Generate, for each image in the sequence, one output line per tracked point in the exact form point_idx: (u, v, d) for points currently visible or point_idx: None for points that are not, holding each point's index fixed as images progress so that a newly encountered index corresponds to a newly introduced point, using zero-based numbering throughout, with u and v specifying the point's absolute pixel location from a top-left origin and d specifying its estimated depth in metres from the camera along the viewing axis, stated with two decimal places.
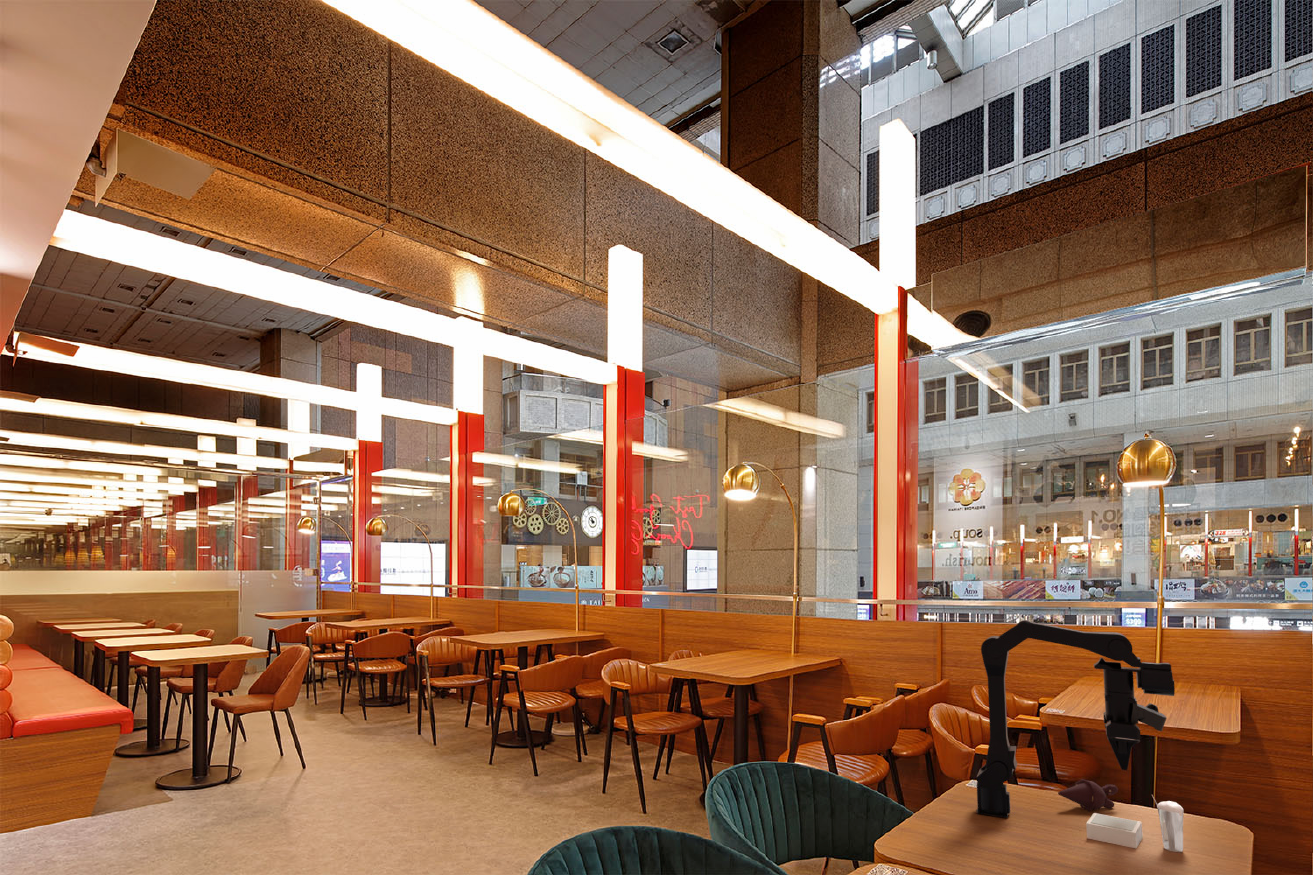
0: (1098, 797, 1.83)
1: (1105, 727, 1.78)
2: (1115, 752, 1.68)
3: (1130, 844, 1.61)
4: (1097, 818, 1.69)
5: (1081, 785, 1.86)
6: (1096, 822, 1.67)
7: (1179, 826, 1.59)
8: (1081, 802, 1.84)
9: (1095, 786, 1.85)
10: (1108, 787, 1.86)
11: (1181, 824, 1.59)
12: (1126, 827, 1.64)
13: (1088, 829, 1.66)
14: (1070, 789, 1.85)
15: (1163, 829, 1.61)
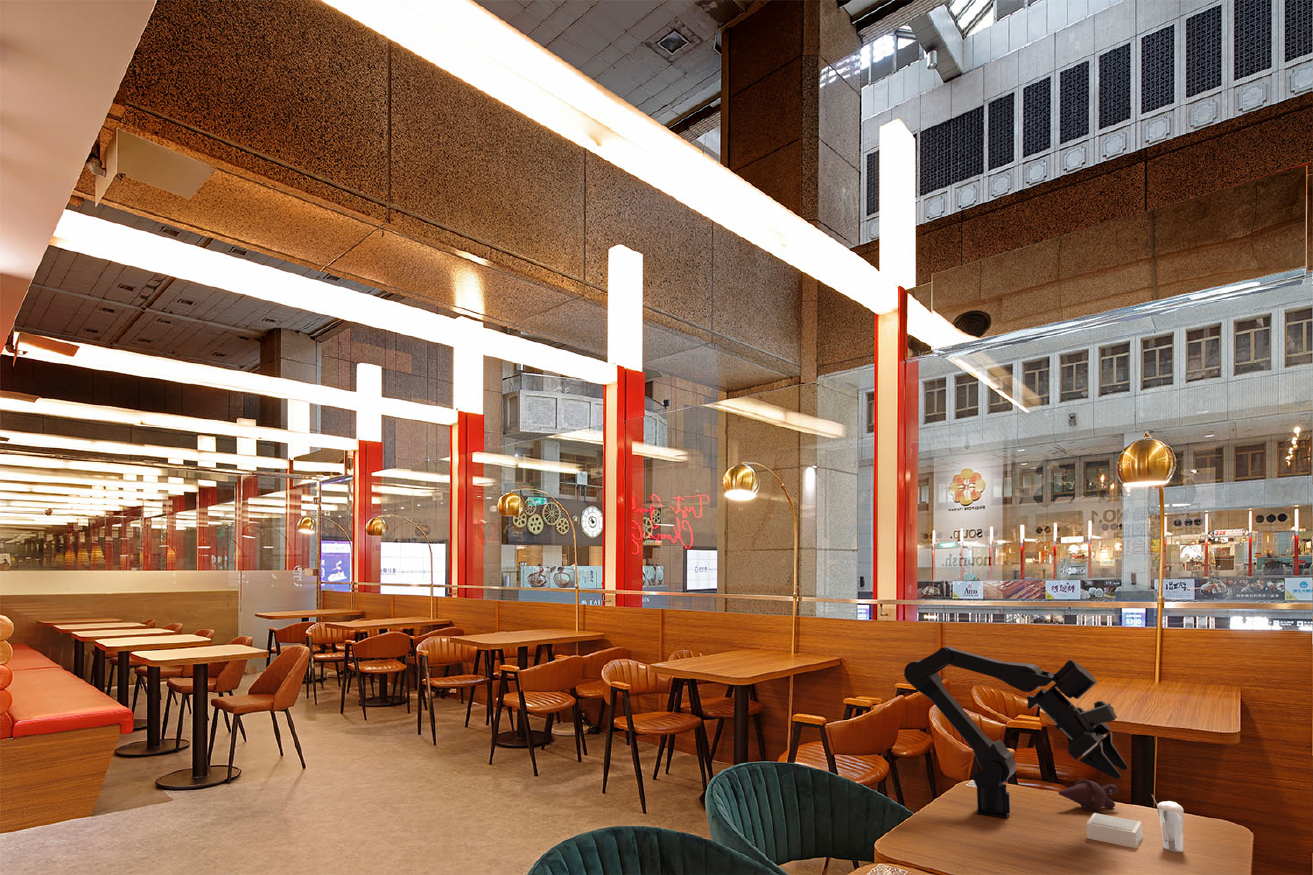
0: (1098, 796, 1.83)
1: None
2: (1098, 768, 1.65)
3: (1130, 844, 1.61)
4: (1097, 818, 1.69)
5: (1081, 785, 1.86)
6: (1096, 822, 1.67)
7: (1179, 826, 1.59)
8: (1081, 802, 1.84)
9: (1095, 786, 1.85)
10: (1109, 787, 1.86)
11: (1181, 824, 1.59)
12: (1126, 827, 1.64)
13: (1088, 829, 1.66)
14: (1070, 789, 1.85)
15: (1163, 829, 1.61)
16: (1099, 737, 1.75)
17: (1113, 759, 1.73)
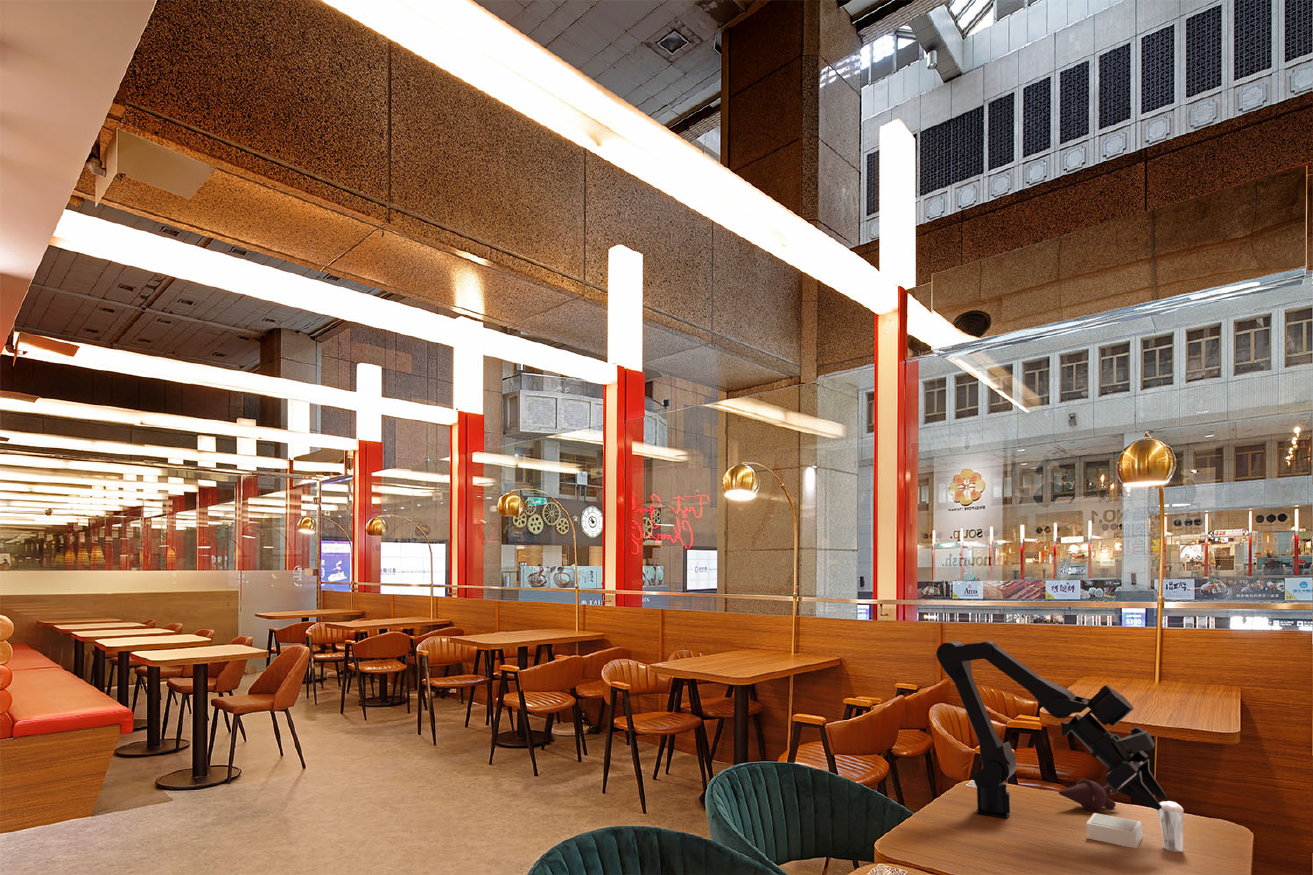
0: (1098, 796, 1.83)
1: None
2: (1137, 799, 1.60)
3: (1130, 844, 1.61)
4: (1097, 818, 1.69)
5: (1082, 785, 1.86)
6: (1096, 822, 1.67)
7: (1179, 826, 1.59)
8: (1082, 802, 1.84)
9: (1096, 786, 1.85)
10: (1109, 787, 1.86)
11: (1181, 824, 1.59)
12: (1126, 827, 1.64)
13: (1088, 829, 1.66)
14: (1071, 789, 1.85)
15: (1163, 829, 1.61)
16: (1136, 765, 1.71)
17: (1151, 787, 1.68)
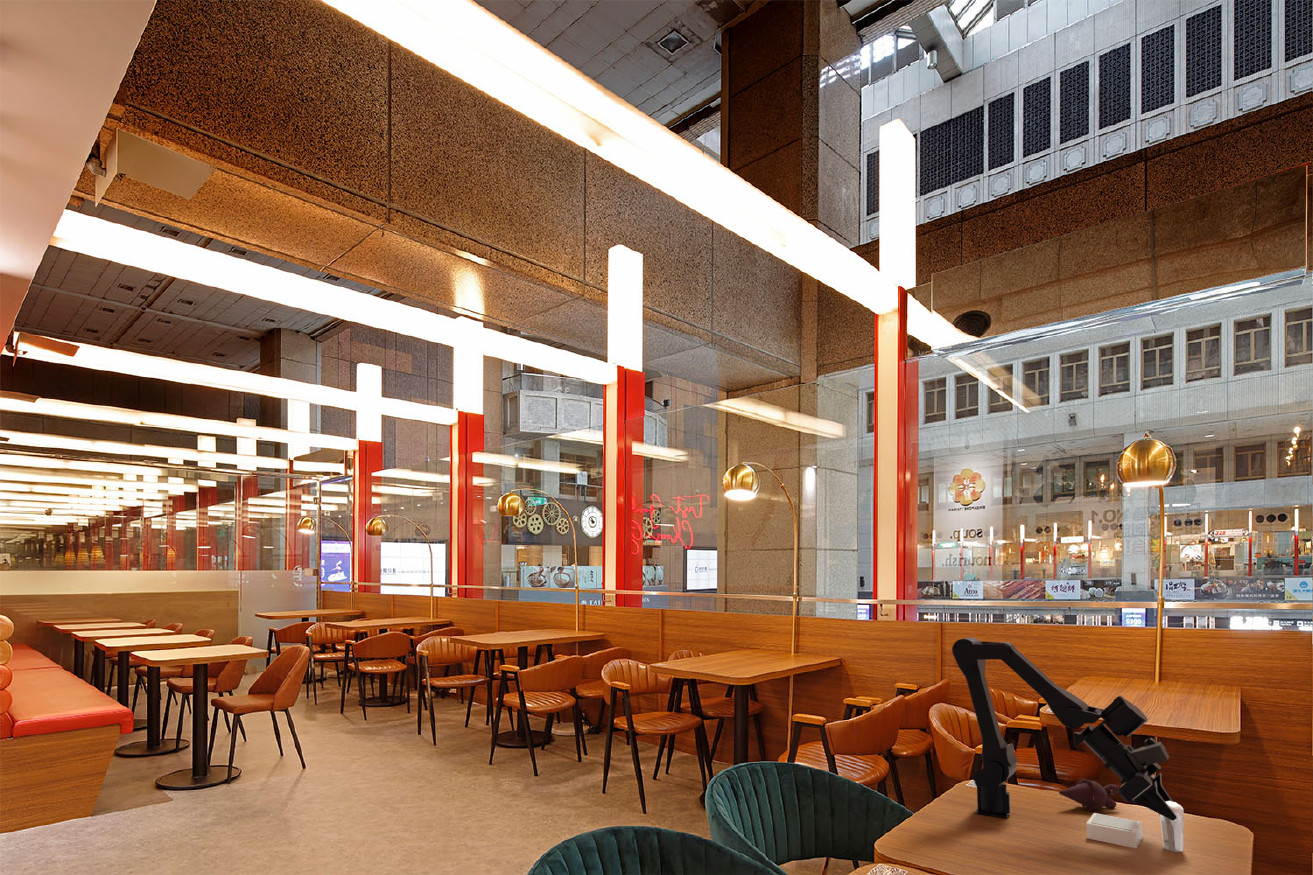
0: (1099, 796, 1.83)
1: None
2: (1153, 809, 1.60)
3: (1130, 844, 1.61)
4: (1097, 818, 1.69)
5: (1082, 785, 1.86)
6: (1096, 822, 1.67)
7: (1179, 826, 1.59)
8: (1082, 801, 1.84)
9: (1096, 786, 1.85)
10: (1110, 787, 1.86)
11: (1181, 824, 1.59)
12: (1126, 827, 1.64)
13: (1088, 829, 1.66)
14: (1071, 788, 1.86)
15: (1163, 829, 1.61)
16: None
17: None
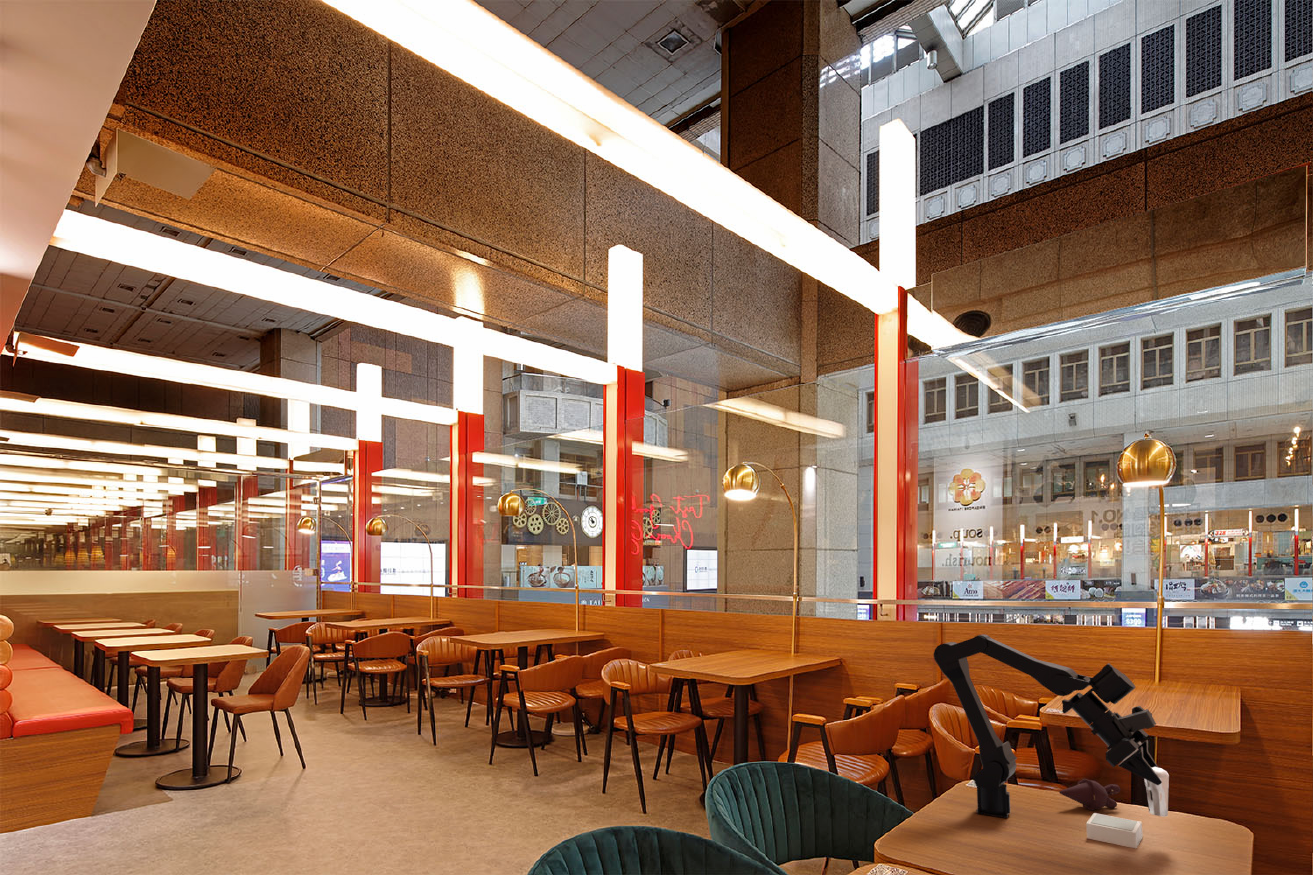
0: (1099, 796, 1.84)
1: None
2: (1138, 774, 1.63)
3: (1130, 844, 1.61)
4: (1097, 818, 1.69)
5: (1083, 784, 1.86)
6: (1096, 822, 1.67)
7: (1164, 791, 1.61)
8: (1083, 801, 1.85)
9: (1097, 785, 1.85)
10: (1110, 787, 1.86)
11: (1166, 789, 1.62)
12: (1126, 827, 1.64)
13: (1088, 829, 1.66)
14: (1071, 788, 1.86)
15: (1148, 794, 1.63)
16: (1136, 743, 1.71)
17: None
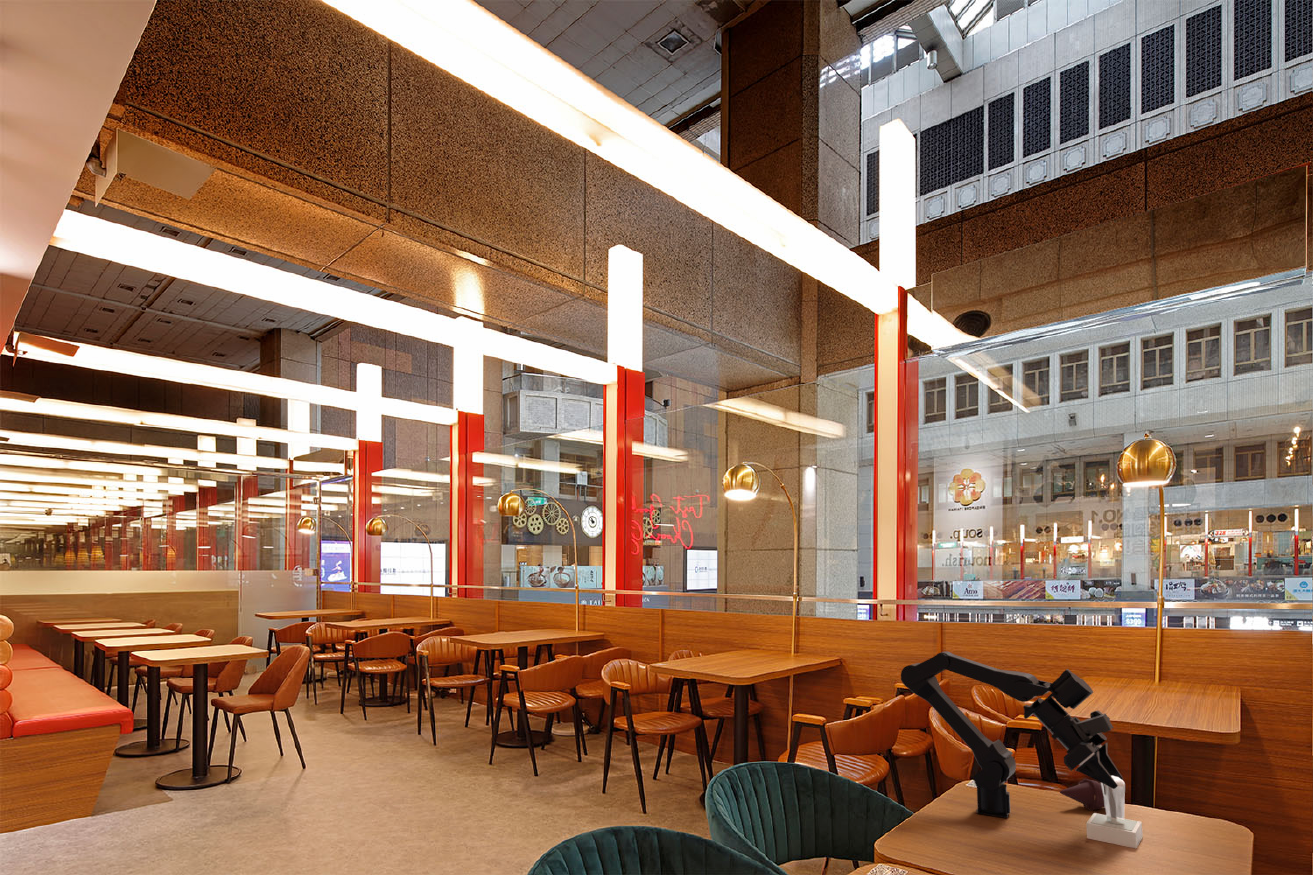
0: (1100, 796, 1.84)
1: None
2: (1095, 778, 1.66)
3: (1130, 844, 1.61)
4: (1097, 818, 1.69)
5: (1083, 784, 1.86)
6: (1096, 822, 1.67)
7: (1120, 799, 1.66)
8: (1083, 801, 1.85)
9: (1097, 785, 1.85)
10: None
11: (1122, 797, 1.66)
12: (1126, 827, 1.64)
13: (1088, 829, 1.66)
14: (1072, 788, 1.86)
15: (1106, 803, 1.67)
16: None
17: (1108, 770, 1.72)
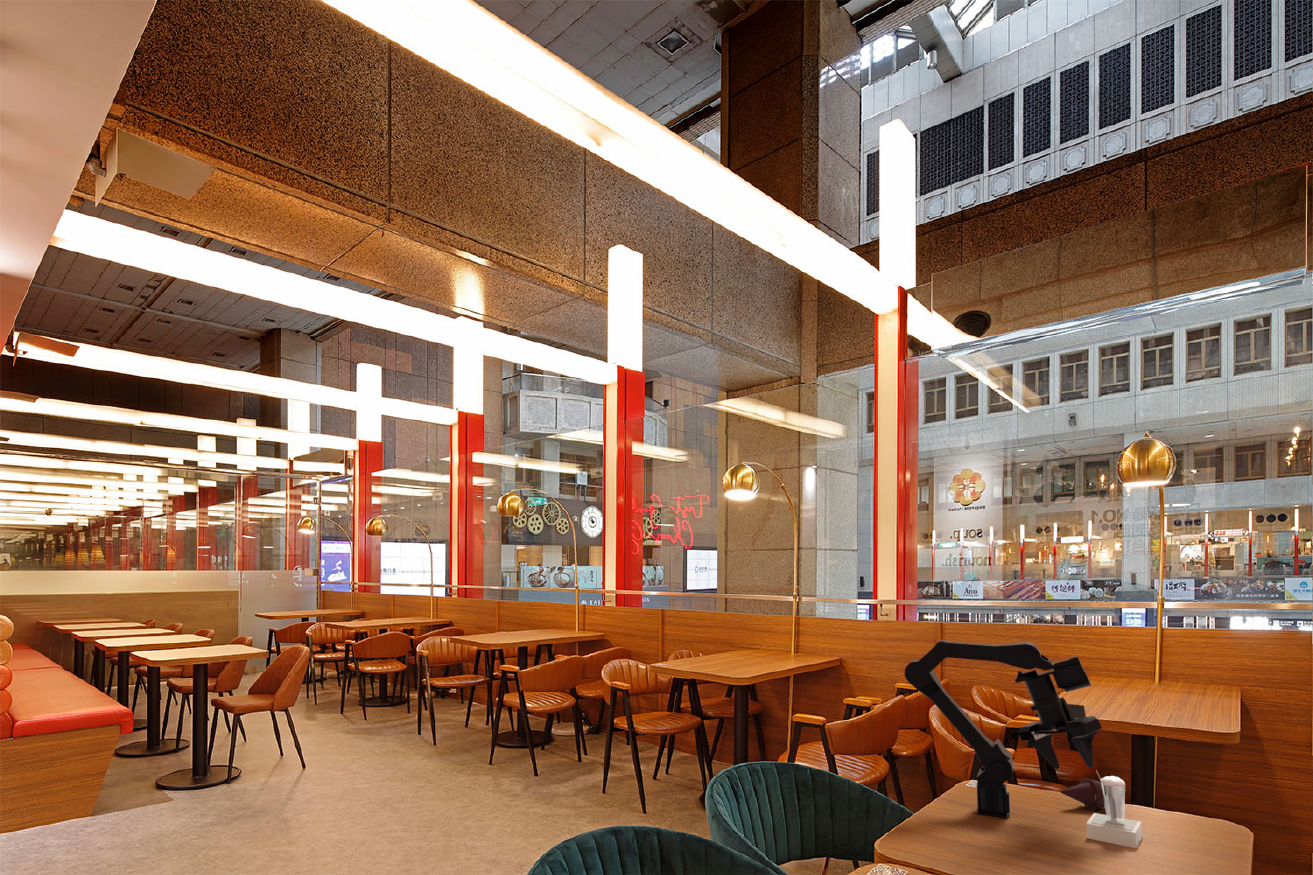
0: (1101, 796, 1.84)
1: (1035, 742, 1.81)
2: (1084, 752, 1.71)
3: (1130, 844, 1.61)
4: (1097, 818, 1.69)
5: (1084, 784, 1.87)
6: (1096, 822, 1.67)
7: (1121, 799, 1.66)
8: (1084, 801, 1.85)
9: (1098, 785, 1.85)
10: None
11: (1123, 797, 1.66)
12: (1126, 827, 1.64)
13: (1088, 829, 1.66)
14: (1073, 788, 1.86)
15: (1106, 802, 1.67)
16: (1043, 734, 1.83)
17: (1050, 756, 1.80)
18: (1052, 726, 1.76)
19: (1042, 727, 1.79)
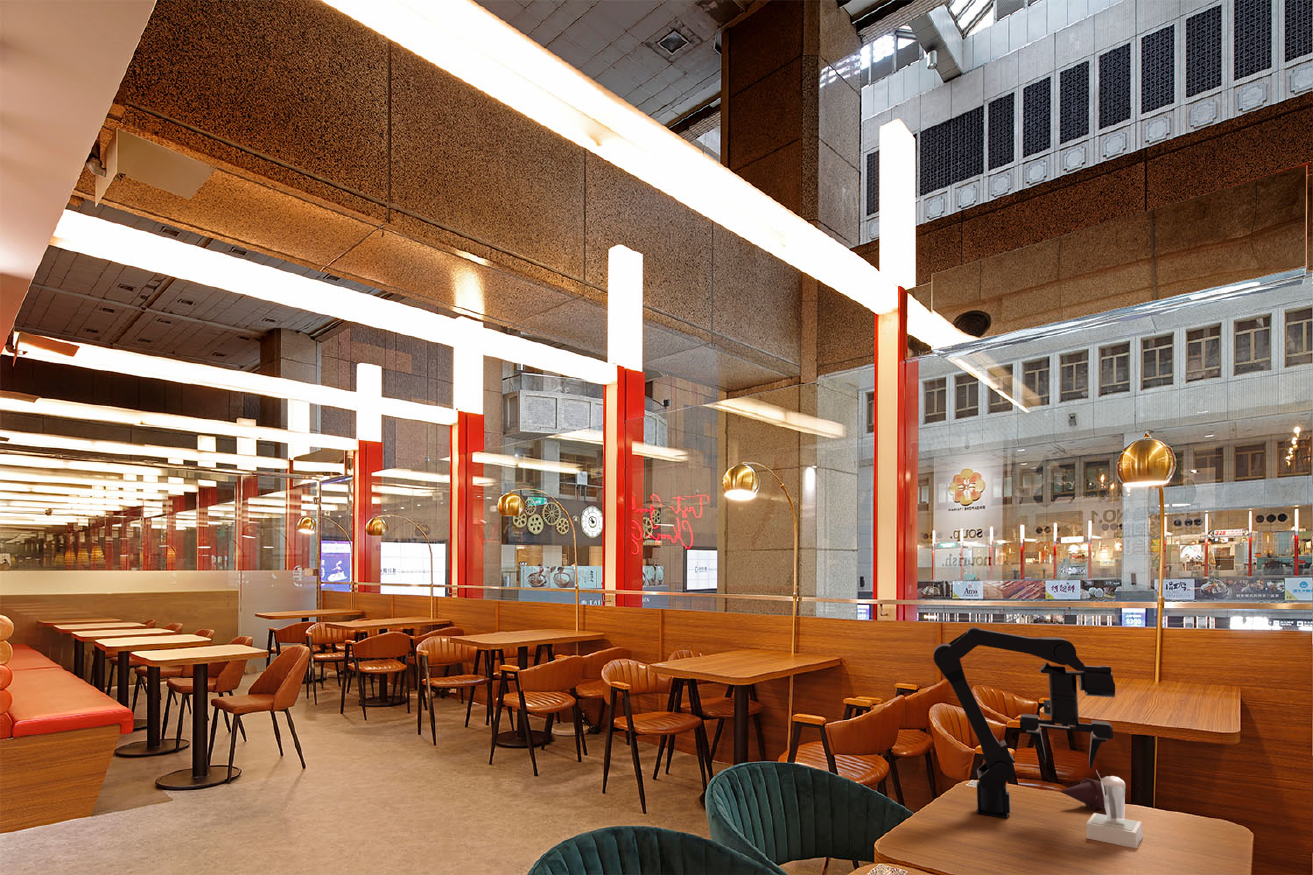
0: (1101, 796, 1.84)
1: (1040, 734, 1.79)
2: None
3: (1130, 844, 1.61)
4: (1097, 818, 1.69)
5: (1085, 784, 1.87)
6: (1096, 822, 1.67)
7: (1121, 799, 1.66)
8: (1085, 801, 1.85)
9: (1099, 785, 1.86)
10: None
11: (1123, 797, 1.66)
12: (1126, 827, 1.64)
13: (1088, 829, 1.66)
14: (1074, 787, 1.86)
15: (1106, 802, 1.67)
16: (1039, 727, 1.82)
17: None
18: (1072, 723, 1.77)
19: (1058, 722, 1.78)
